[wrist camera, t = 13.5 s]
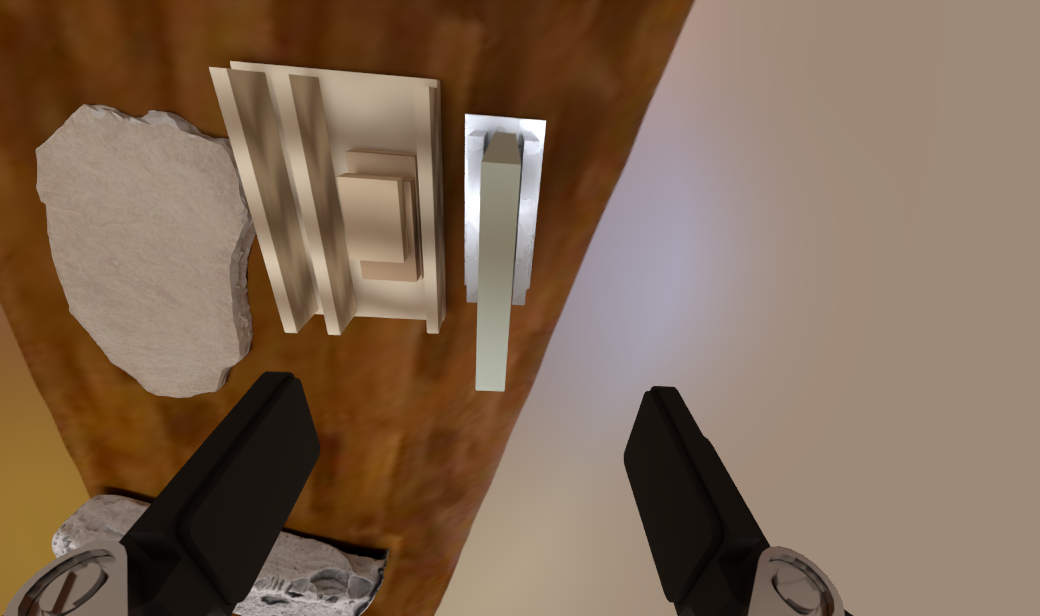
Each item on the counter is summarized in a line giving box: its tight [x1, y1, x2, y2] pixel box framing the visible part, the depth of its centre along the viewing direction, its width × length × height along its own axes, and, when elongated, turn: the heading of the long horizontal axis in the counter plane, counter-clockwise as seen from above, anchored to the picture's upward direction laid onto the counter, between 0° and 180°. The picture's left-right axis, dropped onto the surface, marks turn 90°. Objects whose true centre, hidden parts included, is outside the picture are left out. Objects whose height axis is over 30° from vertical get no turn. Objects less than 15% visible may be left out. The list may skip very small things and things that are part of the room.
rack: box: [209, 61, 446, 335], centre depth 29 cm, size 20×14×6 cm
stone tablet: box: [36, 104, 256, 398], centre depth 34 cm, size 16×30×2 cm, turn 157°
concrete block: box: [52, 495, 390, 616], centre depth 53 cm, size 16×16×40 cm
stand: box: [465, 113, 546, 305], centre depth 29 cm, size 14×6×6 cm, turn 176°
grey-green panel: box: [476, 132, 521, 391], centre depth 24 cm, size 12×2×15 cm, turn 176°
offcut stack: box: [337, 149, 424, 282], centre depth 29 cm, size 10×5×4 cm, turn 176°
